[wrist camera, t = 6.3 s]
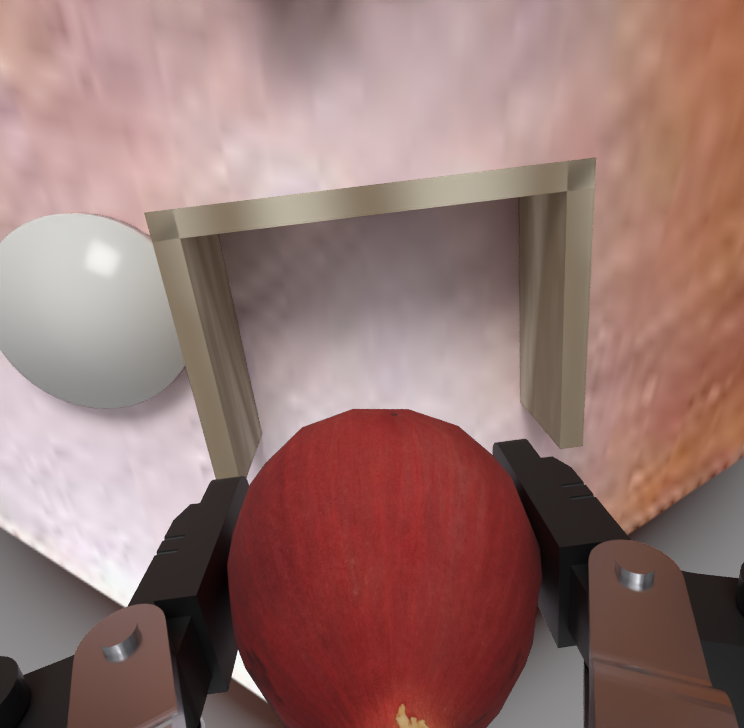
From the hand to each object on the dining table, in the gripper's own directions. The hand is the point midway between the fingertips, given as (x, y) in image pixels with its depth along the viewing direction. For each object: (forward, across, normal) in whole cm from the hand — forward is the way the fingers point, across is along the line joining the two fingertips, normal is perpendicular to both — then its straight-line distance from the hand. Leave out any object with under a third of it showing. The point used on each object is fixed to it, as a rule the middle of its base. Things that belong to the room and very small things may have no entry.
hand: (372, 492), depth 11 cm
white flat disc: (+18, +15, -2) cm, 23 cm away
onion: (+2, 0, 0) cm, 2 cm away
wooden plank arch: (+18, -1, 0) cm, 18 cm away
